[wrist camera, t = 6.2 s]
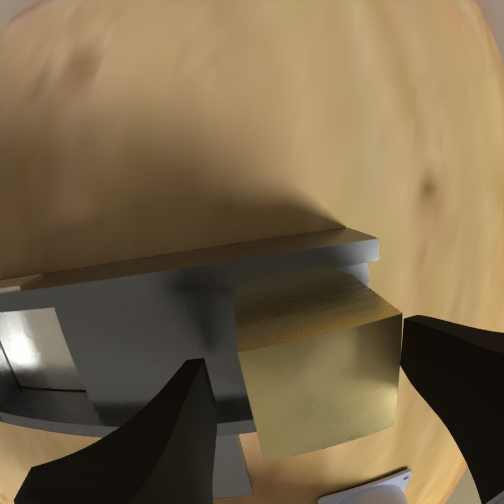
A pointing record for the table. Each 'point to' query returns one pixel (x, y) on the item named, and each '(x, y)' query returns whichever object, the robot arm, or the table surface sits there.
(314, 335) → the block
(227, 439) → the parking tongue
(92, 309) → the rail
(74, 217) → the table surface
